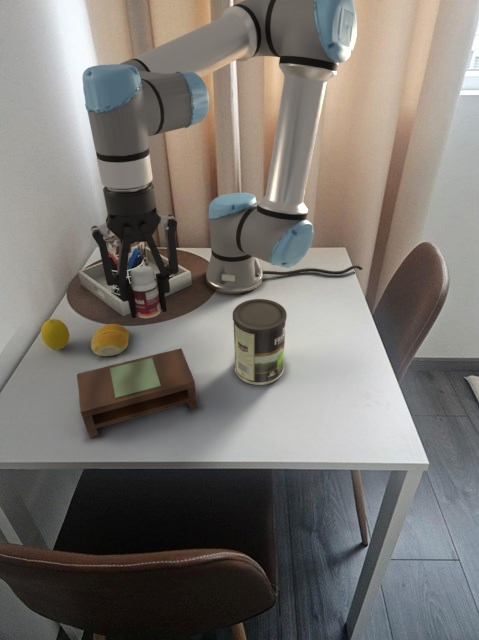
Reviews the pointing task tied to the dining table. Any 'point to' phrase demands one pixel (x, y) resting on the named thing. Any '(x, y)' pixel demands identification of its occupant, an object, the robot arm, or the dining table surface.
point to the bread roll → (110, 340)
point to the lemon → (55, 334)
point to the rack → (135, 389)
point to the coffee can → (259, 341)
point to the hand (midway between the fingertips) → (148, 310)
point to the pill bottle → (145, 292)
